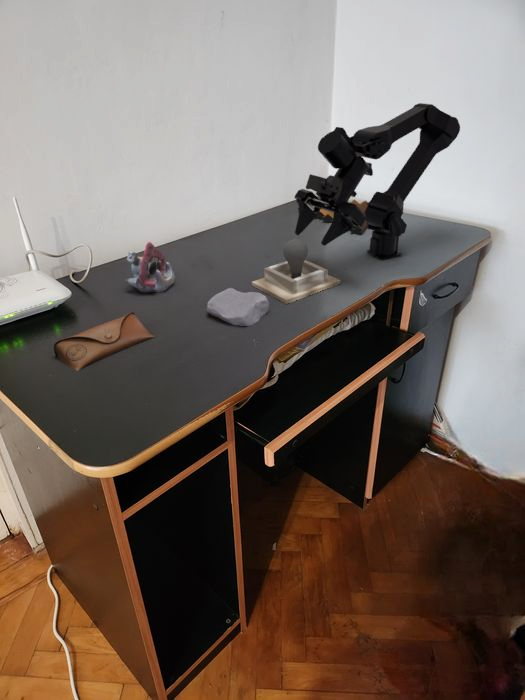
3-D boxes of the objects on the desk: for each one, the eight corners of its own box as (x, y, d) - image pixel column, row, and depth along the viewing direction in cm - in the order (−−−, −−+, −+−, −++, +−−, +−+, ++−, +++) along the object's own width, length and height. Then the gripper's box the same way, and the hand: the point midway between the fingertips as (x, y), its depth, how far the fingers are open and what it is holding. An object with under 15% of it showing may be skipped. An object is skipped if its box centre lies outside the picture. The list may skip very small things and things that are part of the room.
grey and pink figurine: (168, 289, 120) (132, 246, 117) (138, 311, 126) (104, 271, 123) (190, 270, 129) (157, 230, 126) (161, 291, 135) (130, 253, 132)
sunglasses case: (76, 372, 96) (59, 338, 95) (64, 376, 102) (49, 344, 101) (158, 335, 106) (144, 305, 106) (144, 341, 112) (131, 311, 111)
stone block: (250, 337, 109) (273, 308, 115) (245, 318, 106) (269, 290, 112) (203, 326, 114) (227, 299, 120) (197, 308, 111) (222, 282, 117)
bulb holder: (304, 268, 133) (304, 252, 131) (340, 284, 124) (340, 268, 122) (252, 285, 125) (251, 269, 123) (286, 304, 116) (286, 287, 114)
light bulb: (303, 274, 127) (302, 234, 122) (312, 283, 123) (311, 241, 118) (281, 278, 126) (279, 237, 121) (289, 287, 121) (287, 245, 116)
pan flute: (361, 237, 153) (381, 212, 172) (362, 225, 151) (381, 201, 170) (280, 228, 161) (307, 205, 181) (280, 217, 160) (308, 195, 179)
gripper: (299, 153, 122) (263, 211, 122) (358, 166, 109) (317, 231, 109) (325, 181, 130) (291, 236, 130) (382, 196, 117) (344, 257, 117)
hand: (309, 239), depth 121 cm, fingers open, 9 cm apart
